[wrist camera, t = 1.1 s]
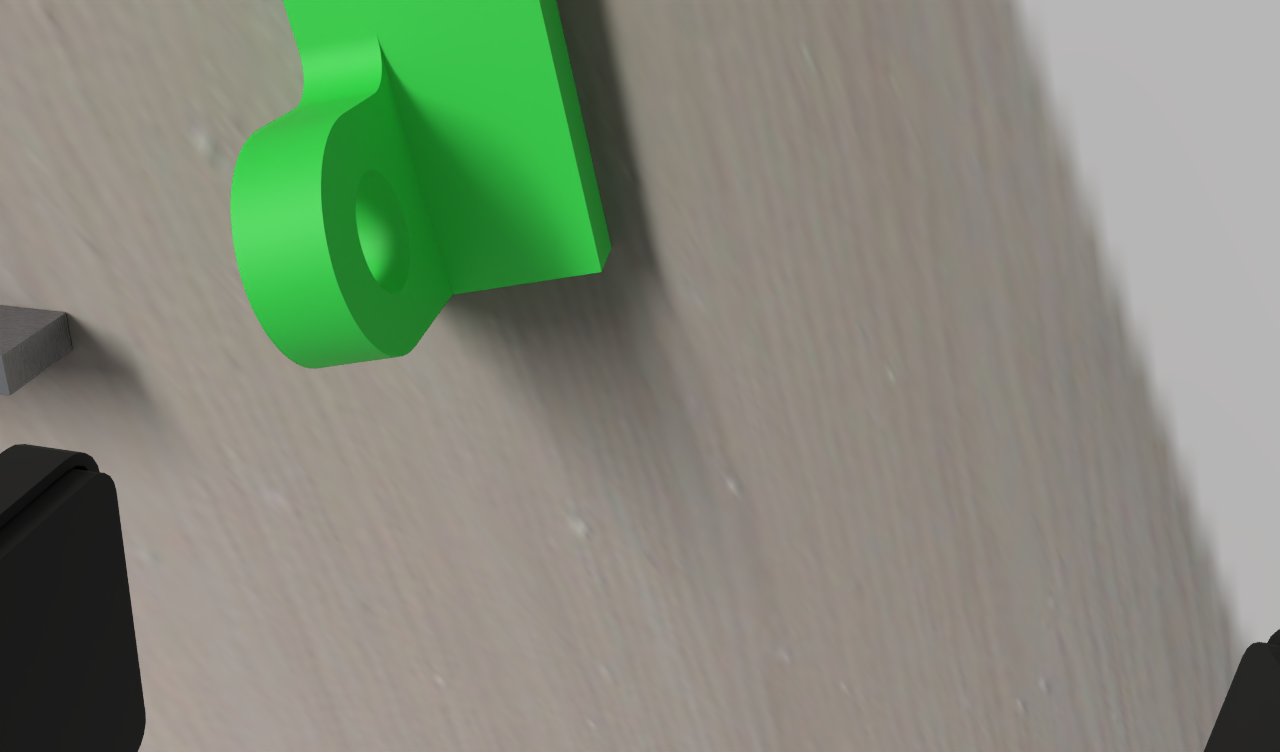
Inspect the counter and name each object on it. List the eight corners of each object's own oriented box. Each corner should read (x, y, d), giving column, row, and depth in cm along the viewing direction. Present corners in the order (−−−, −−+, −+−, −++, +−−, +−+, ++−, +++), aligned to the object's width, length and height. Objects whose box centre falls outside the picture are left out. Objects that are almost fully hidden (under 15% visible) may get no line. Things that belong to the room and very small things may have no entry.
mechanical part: (612, 245, 30) (557, 375, 23) (403, 278, 31) (289, 411, 24) (500, -256, 25) (387, -290, 18) (258, -196, 26) (61, -205, 19)
